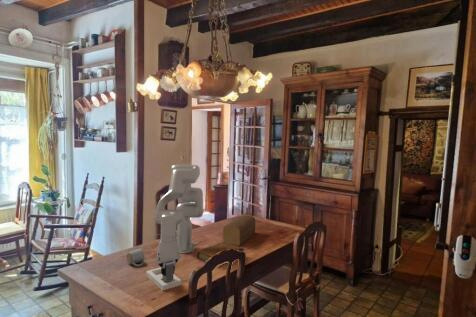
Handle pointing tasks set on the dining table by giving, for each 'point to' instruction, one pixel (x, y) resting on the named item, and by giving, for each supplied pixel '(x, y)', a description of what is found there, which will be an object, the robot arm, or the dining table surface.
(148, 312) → the dining table surface
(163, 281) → the jack panel
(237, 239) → the bread
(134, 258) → the ceramic mug
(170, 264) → the plug
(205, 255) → the diary
